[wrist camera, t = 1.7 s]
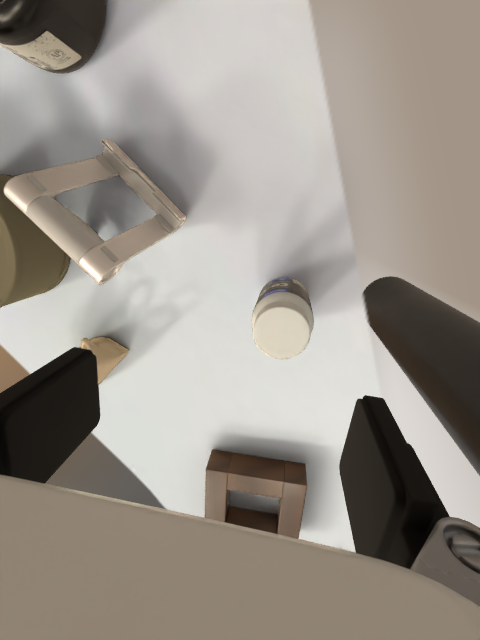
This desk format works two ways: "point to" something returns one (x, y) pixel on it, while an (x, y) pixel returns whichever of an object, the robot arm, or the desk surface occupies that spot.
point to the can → (26, 254)
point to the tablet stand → (77, 236)
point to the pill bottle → (282, 319)
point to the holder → (256, 491)
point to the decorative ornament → (105, 354)
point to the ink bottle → (52, 31)
